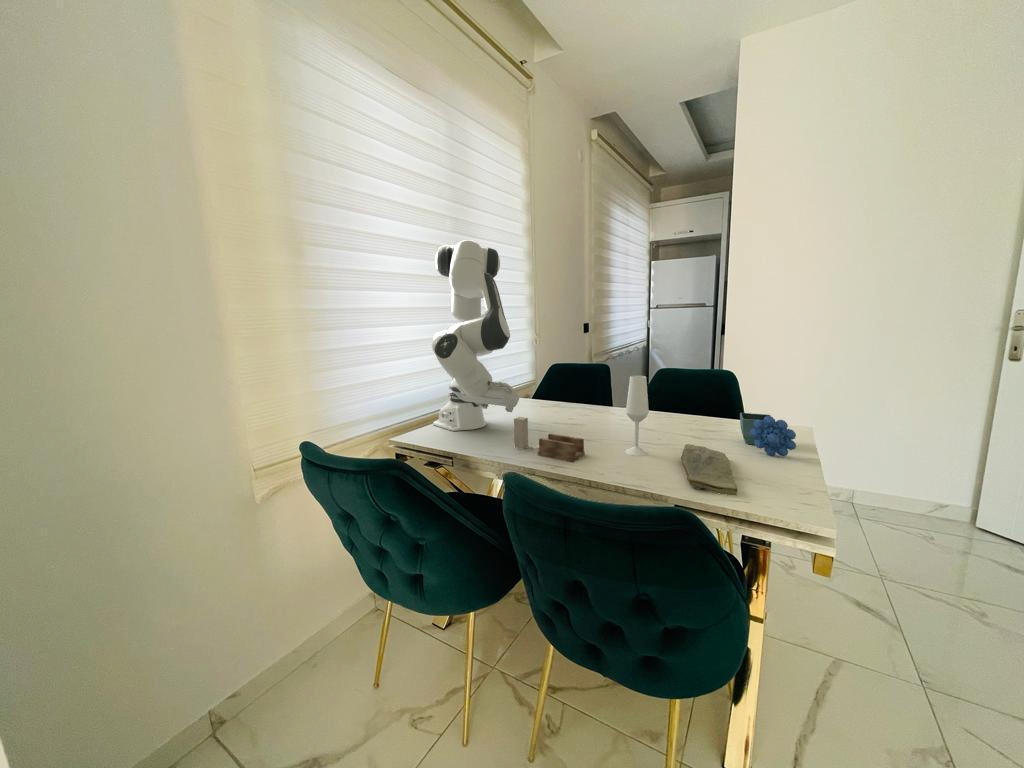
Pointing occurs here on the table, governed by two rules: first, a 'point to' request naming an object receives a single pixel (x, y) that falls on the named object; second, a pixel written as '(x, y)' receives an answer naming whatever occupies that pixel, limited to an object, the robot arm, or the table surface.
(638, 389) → the champagne flute
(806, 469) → the table surface
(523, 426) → the strip
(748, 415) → the flower pot
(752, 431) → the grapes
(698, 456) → the stone slab
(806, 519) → the table surface
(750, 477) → the table surface
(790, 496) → the table surface
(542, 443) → the wooden napkin holder
